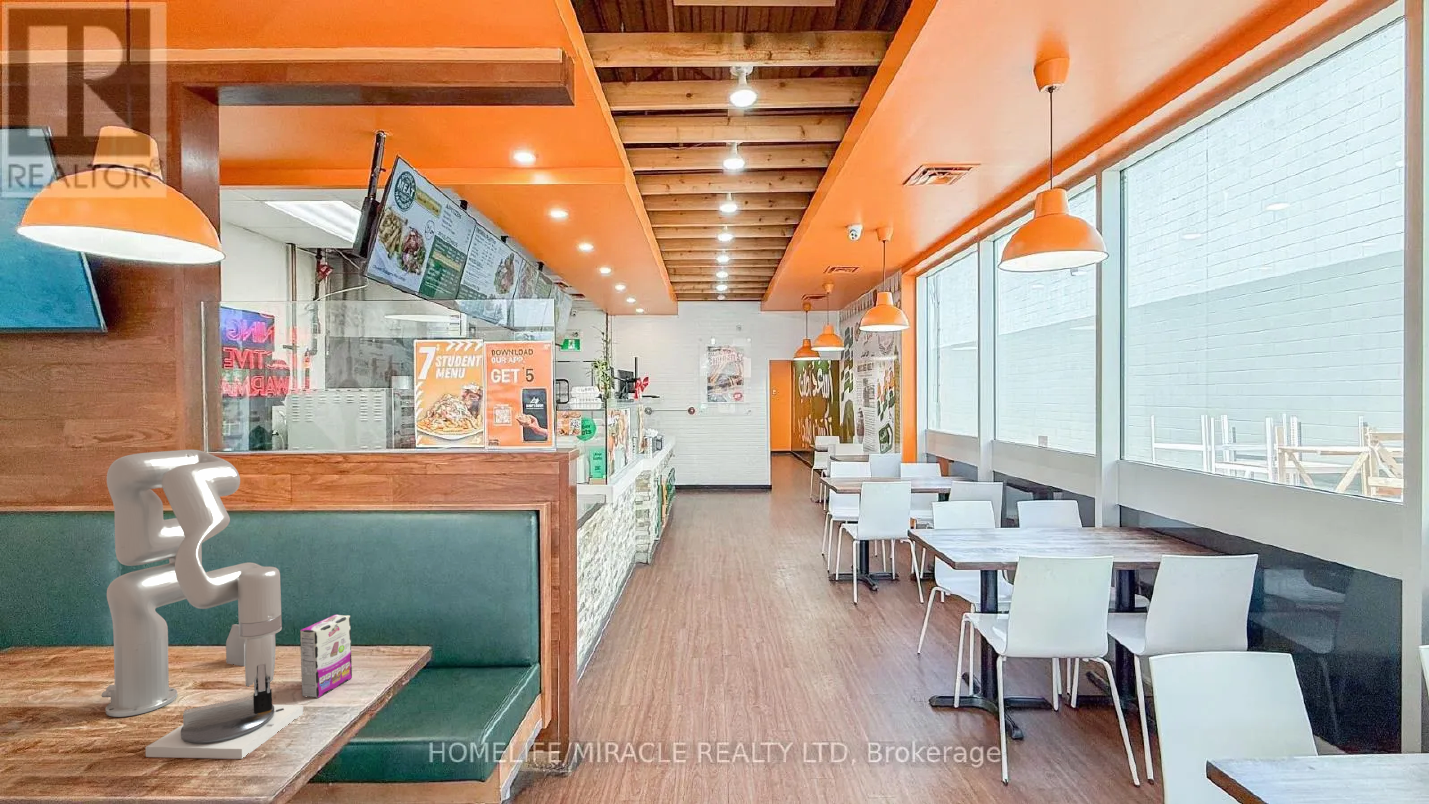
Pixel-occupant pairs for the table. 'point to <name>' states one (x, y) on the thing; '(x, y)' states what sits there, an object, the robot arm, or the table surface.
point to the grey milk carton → (235, 647)
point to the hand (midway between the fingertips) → (263, 710)
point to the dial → (222, 721)
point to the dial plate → (229, 748)
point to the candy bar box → (325, 655)
